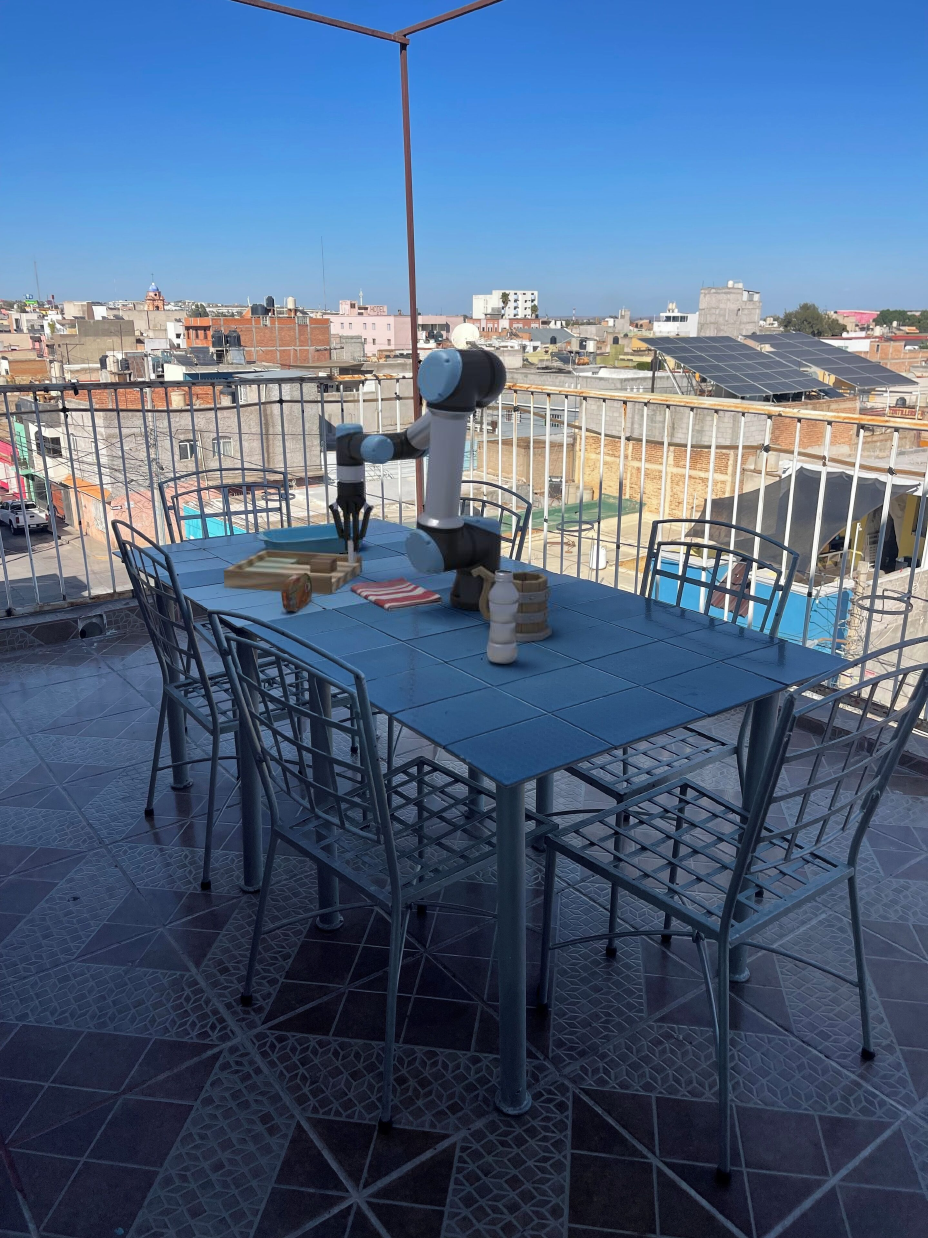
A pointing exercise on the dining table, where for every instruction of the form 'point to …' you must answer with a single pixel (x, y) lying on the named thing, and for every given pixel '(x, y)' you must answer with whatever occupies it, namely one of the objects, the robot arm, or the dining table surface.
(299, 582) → the tin
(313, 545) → the casserole dish
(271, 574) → the box
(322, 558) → the walnut block
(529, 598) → the tankard
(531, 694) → the dining table surface
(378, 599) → the dish towel
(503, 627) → the plastic bottle
